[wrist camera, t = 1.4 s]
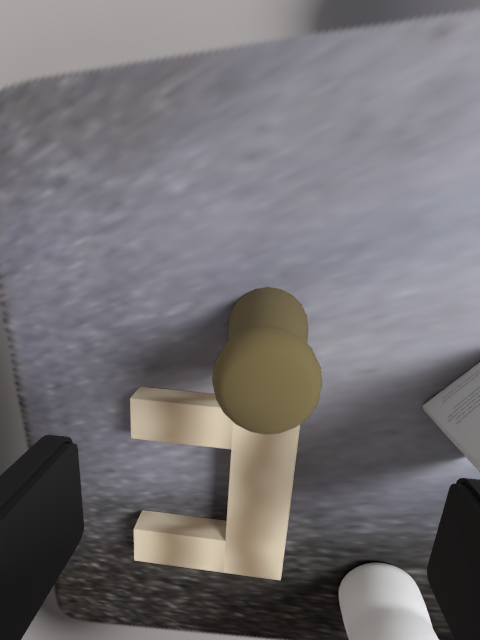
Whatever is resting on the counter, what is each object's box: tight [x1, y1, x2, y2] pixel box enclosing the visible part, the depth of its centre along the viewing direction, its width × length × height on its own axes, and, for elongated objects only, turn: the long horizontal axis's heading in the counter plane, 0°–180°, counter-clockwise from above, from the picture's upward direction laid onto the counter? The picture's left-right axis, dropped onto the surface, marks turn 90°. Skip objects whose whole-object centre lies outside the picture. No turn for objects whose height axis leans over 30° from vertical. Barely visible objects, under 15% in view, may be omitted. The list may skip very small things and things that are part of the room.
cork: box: [212, 287, 322, 435], centre depth 19 cm, size 6×6×11 cm
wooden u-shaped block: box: [130, 387, 300, 580], centre depth 28 cm, size 13×16×2 cm
